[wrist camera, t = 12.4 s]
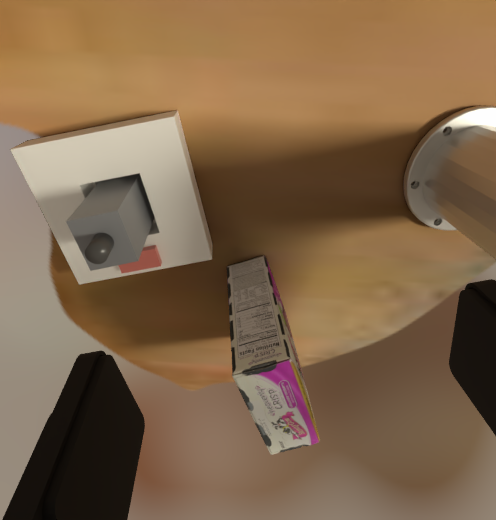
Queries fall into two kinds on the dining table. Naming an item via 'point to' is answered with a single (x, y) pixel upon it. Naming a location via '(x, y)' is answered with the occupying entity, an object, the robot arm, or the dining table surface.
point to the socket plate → (115, 166)
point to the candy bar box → (267, 359)
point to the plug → (112, 222)
